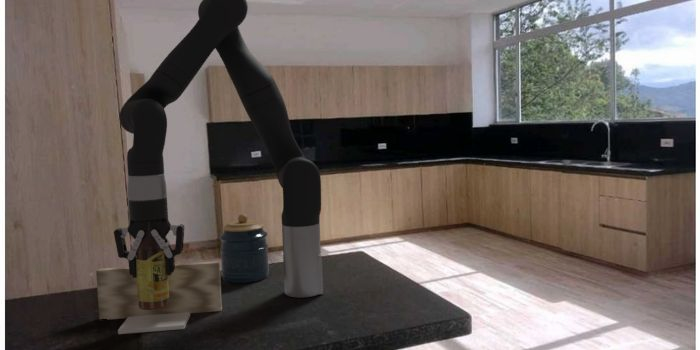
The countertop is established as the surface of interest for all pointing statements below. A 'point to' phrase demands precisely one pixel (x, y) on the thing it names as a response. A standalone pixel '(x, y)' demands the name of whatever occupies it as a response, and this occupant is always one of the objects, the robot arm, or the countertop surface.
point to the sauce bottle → (151, 272)
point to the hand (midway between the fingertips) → (152, 275)
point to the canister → (244, 251)
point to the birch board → (184, 291)
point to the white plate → (154, 323)
